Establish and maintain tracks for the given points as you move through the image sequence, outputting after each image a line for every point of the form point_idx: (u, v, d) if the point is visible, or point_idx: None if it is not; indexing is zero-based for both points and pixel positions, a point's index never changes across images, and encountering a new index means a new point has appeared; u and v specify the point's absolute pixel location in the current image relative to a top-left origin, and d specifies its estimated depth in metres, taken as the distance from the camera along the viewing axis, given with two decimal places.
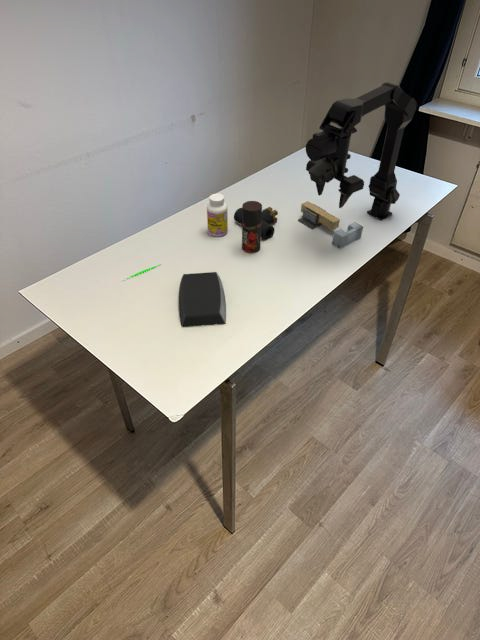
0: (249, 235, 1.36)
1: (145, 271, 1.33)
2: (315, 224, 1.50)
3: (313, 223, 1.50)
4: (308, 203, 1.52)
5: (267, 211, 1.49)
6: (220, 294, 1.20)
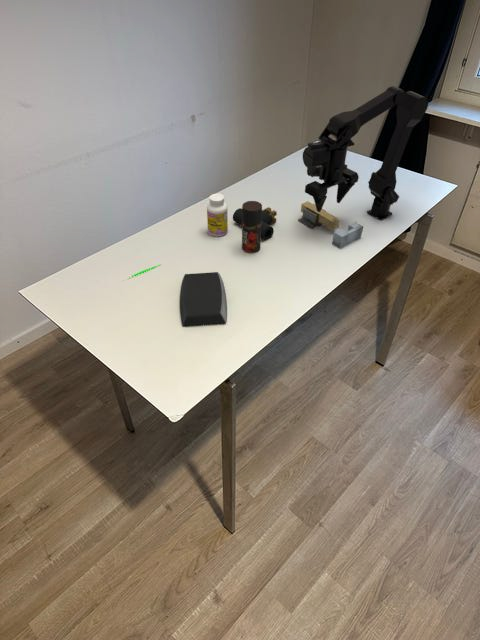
0: (249, 235, 1.36)
1: (145, 271, 1.33)
2: (315, 224, 1.50)
3: (313, 223, 1.50)
4: (308, 203, 1.52)
5: (266, 211, 1.49)
6: (221, 294, 1.20)
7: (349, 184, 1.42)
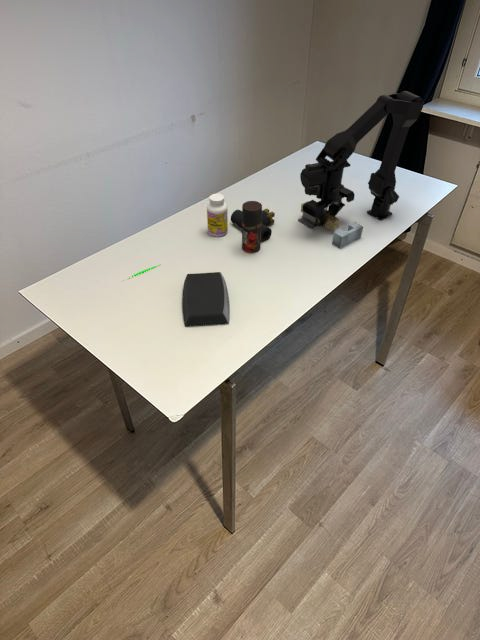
0: (249, 235, 1.36)
1: (145, 271, 1.33)
2: (315, 224, 1.50)
3: (313, 223, 1.50)
4: None
5: (264, 213, 1.48)
6: (224, 294, 1.20)
7: (339, 205, 1.45)
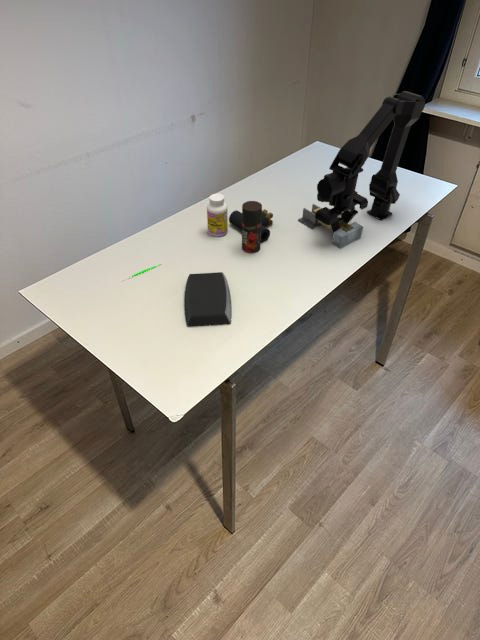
0: (249, 235, 1.36)
1: (145, 271, 1.33)
2: (315, 224, 1.50)
3: (313, 223, 1.50)
4: None
5: (262, 214, 1.48)
6: (226, 294, 1.20)
7: (352, 212, 1.42)
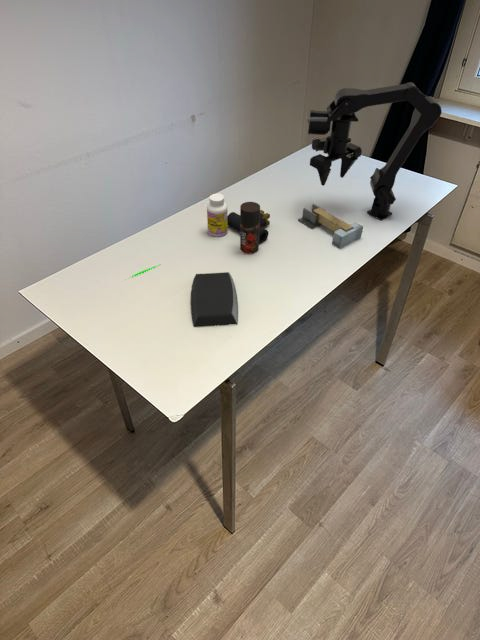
0: (247, 236, 1.35)
1: (145, 271, 1.33)
2: (315, 224, 1.50)
3: (313, 223, 1.50)
4: (320, 210, 1.49)
5: None
6: (233, 294, 1.20)
7: (352, 158, 1.46)
